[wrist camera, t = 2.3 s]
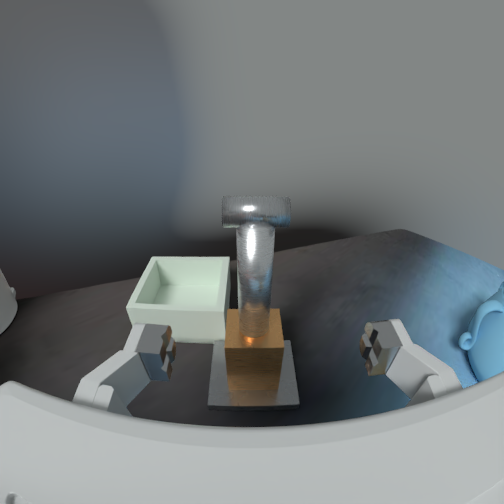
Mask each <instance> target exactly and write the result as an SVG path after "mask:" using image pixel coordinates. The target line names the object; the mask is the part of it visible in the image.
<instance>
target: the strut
mask: <svg viewBox="0 0 504 504" xmlns="http://www.w3.org/2000/svg"><path fill="white" fill-rule="evenodd" d="M290 217H291V206H290V199H289V197H280V196H278V197H277V196H275V197H274V196H223V200H222V225H223V227H237V275H238V309H227V320H226V333H225V346H224V349H225V360H226V370H227V380H228V389H229V390H274V389H278V388H279V381H280V375H281V368H282V361H283V354H284V340H283V333H282V325H281V318H280V311H279V309H270V304H271V288H272V271H273V253H274V234H275V227H280V228H281V227H282V228H288V227H289V225H290Z"/></svg>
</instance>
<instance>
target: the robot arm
mask: <svg viewBox="0 0 504 504" xmlns="http://www.w3.org/2000/svg"><path fill="white" fill-rule="evenodd" d="M15 296H16V291H15V289H14V288H13V287H12V288H10V287H9V285H8V284H7V281H6V279H5V277H4V276H3V274H2V272H1V270H0V334H1V333H2V332H3V331H4V330H5V329H6V328H7V327H8V326H9V325H10V323H11V322H12V320H13V319H14V317H15V315H16V312H17V302H16V300H15ZM365 331H366V333H365V334H364V335H362V337H361V340H360V352H361V355H362V357H363V358H365V359H366V363H365V367H366V369H367V372H368V375H369V376H373V375H381V374H386V375H387V376H388V377H389V378H390V379H391V380H392V381H393V382H394V383H395V384H396V385H397V386H398V387H399V388H400V389H401V390H402V391H403V392H404V393H405V394H406V395H407V396H408V397H409V398H411V400H410V401H409V403H408V404H407V405H406V407H405V408H401V409H397V410H393V411H389V412H384V413H380V414H375V415H370V416H365V417H359V418H353V419H347V420H341V421H333V422H326V423H317V424H307V425H295V426H278V427H218V426H201V425H189V424H179V423H170V422H163V421H156V420H149V419H143V418H137V417H133V416H132V415H131V414H130V412H129V411H128V409H127V408H126V406H127V405H128V404H129V403H130V402H131V401H132V400H133V399H134V398H135V397H136V396H137V395H138V394H139V393H140V392H141V391H142V389H143V388H144V387H145V386H146V385H147V384H148V383H149V382H150V381H151V380H158V381H170V377H171V373H172V366H171V363H172V362H173V361H174V360H175V355H176V345H175V340H174V339H173V338H172V337H171V335H172V329H171V326H169V325H158V324H145V323H135V324H134V325H133V328H132V330H131V332H130V335H129V337H128V340H127V342H126V345H125V347H124V350H123V351H121V350H120V351H119V352H117V353H116V354H115V355H113V356H112V357H110V358H109V359H108V360H106V361H105V362H104V363H102V364H101V365H100V366H98V367H97V368H96V369H94V370H93V371H92V372H90V373H89V374H88V375H86V376H85V377H84V378H82V379H81V381H80V384H79V386H78V389H77V391H76V393H75V396H74V398H73V401H72V402H70V401H67V400H64V399H61V398H58V397H55V396H52V395H49V394H46V393H44V392H41V391H38V390H35V389H33V388H30V387H28V386H25V385H23V384H21V383H18V382H15V381H8V382H6V383H4V384H2V385H1V386H0V504H504V371H503V372H501V373H499V374H497V375H494V376H492V377H490V378H488V379H486V380H483V381H481V382H479V383H476V384H474V385H471V386H469V387H466V388H464V389H463V388H462V386H461V384H460V382H459V380H458V378H457V376H456V374H455V372H454V370H453V369H452V368H451V367H449V366H448V365H446V364H445V363H443V362H442V361H440V360H439V359H438V358H436V357H435V356H433V355H432V354H430V353H429V352H427V351H426V350H424V349H423V348H421V347H420V346H418V345H417V344H413V343H412V341H411V339H410V337H409V335H408V333H407V331H406V330H405V328H404V326H403V324H402V322H401V321H400V320H399V319H392V320H384V321H375V322H368V323H367V324H366V326H365Z"/></svg>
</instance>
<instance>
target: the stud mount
mask: <svg viewBox="0 0 504 504" xmlns="http://www.w3.org/2000/svg"><path fill="white" fill-rule="evenodd" d="M224 346H225V341H215V340H214V348H213V358H212V367H211V377H210V386H209V397H208V408H209V410H225V411H268V410H290V409H298V408H299V396H298V389H297V382H296V376H295V369H294V362H293V355H292V349H291V342H290V340H284V354H283V361H282V368H281V375H280V381H279V388H278V389H274V390H229V389H228V380H227V370H226V360H225V349H224Z"/></svg>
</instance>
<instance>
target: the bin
mask: <svg viewBox="0 0 504 504" xmlns="http://www.w3.org/2000/svg"><path fill="white" fill-rule="evenodd" d="M230 289H231V285H230V260H229V257H152V258H151V260H150V262H149V264H148V265H147V267H146V269H145V271H144V273H143V275H142V277H141V279H140V281H139V282H138V284H137V286H136V288H135V290H134V292H133V294H132V296H131V298H130V300H129V302H128V304H127V306H126V309H127V312H128V315H129V318H130V321H131V324H132V326H133V325H134V324H135V323H145V324H158V325H169V326H171V329H172V335H171V337H172V338H173V339H174V340H175V342H187V343H211V344H214V340H215V341H225V333H226V320H227V309H229V301H230Z"/></svg>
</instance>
